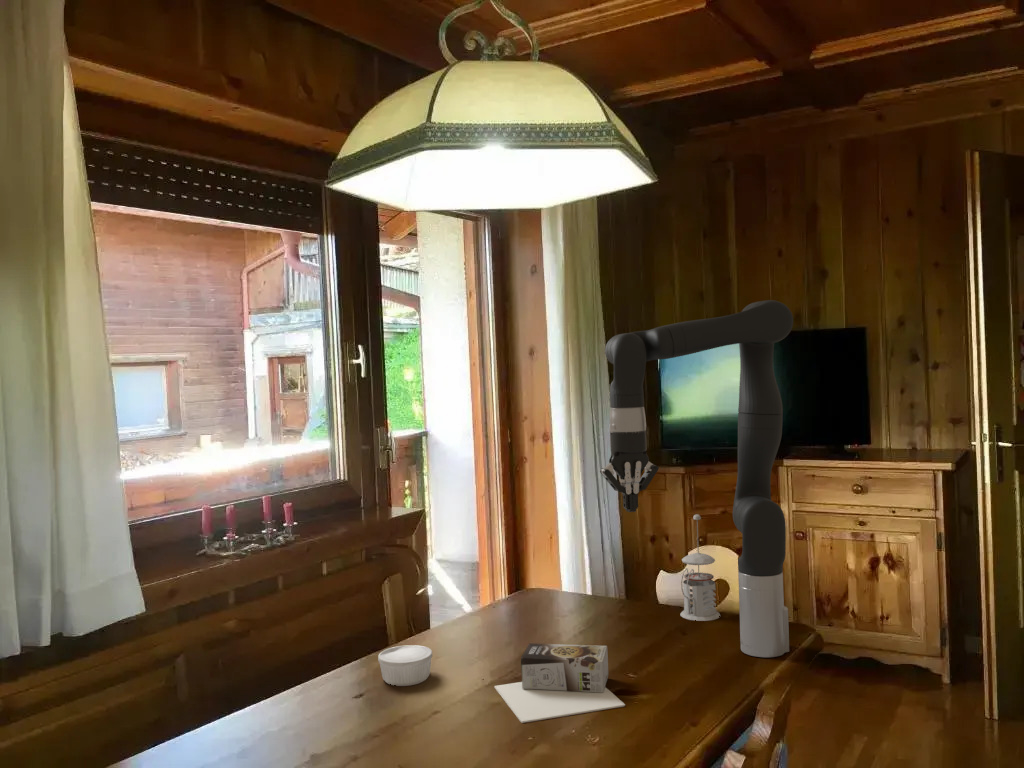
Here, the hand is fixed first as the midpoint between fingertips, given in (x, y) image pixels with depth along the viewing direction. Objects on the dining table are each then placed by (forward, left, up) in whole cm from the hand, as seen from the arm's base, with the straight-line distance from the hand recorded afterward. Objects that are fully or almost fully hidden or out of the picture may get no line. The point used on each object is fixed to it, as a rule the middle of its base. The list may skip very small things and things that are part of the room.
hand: (630, 511), depth 180 cm
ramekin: (+47, -10, -32) cm, 58 cm away
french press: (-28, -24, -32) cm, 49 cm away
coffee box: (+11, +10, -28) cm, 32 cm away
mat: (+22, +11, -32) cm, 40 cm away
